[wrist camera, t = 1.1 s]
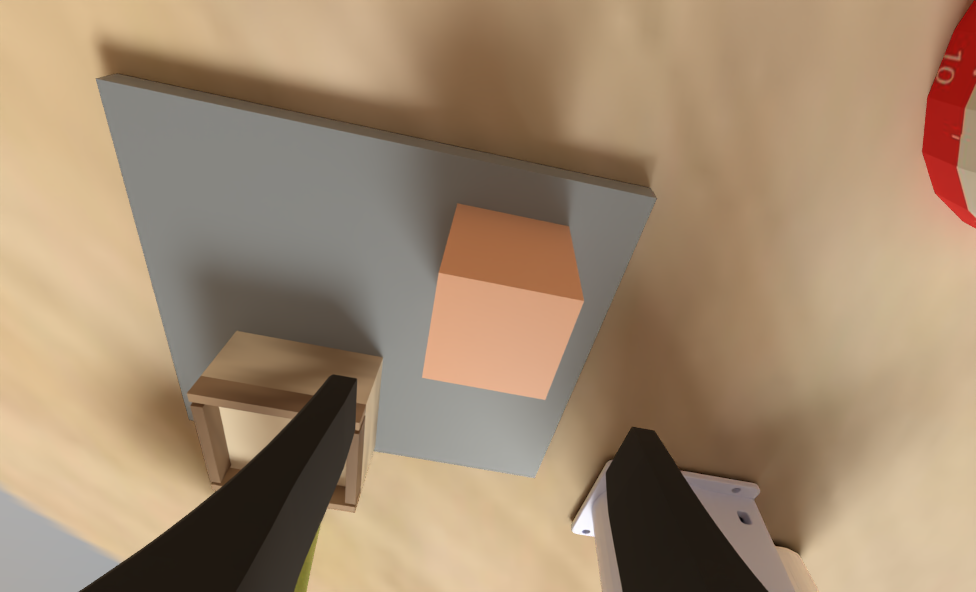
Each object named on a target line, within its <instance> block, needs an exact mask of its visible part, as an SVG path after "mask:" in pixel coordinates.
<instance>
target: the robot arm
mask: <svg viewBox="0 0 976 592" xmlns="http://www.w3.org/2000/svg"><path fill="white" fill-rule="evenodd" d="M356 400H357V378H352V377H346V376H341V375H335V374H333V375H331V376H329V377H328V378H327V380H326V381H325V382H324V383H323V385H322V386H321V387H320V388H319V389H318V391H317V392H316V393H315V394H314V395H313V397H312V398H311V399H310V400H309V401H308V402H307V404H306V405H305V406H304V407H303V408H302V409H301V410H300V411H299V412H298V414H297V415H296V416H295V417H294V418H293V419H292V420H291V421H290V422H289V423H288V424H287V425H286V426H285V427H284V428H283V429H282V430H281V431H280V432H279V433H278V435H277V436H276V437H275V438H274V439H273V440H272V441H271V442H270V443H269V444H268V445H267V446H266V447H265V448H263V449H262V450H261V451H260V452H259V453H258V454H257V455H256V456H255V457H254V458H253V459H252V460H251V461H250V462H249V463H248V464H246V465H245V466H244V467H243V468H242V469H241V470H240V471H239V472H238V473H237V474H236V475H235V476H233V477H232V478H231V479H230V480H229V481H228V482H227V483H225V484H224V485H223V486H222V487H221V488H220V489H218V490H217V491H216V492H215V493H214V494H212V495H211V496H210V497H209V498H208V499H206V500H205V501H204V502H203V503H202V504H200V505H199V506H198V507H197V508H195V509H194V510H193V511H192V512H190V513H189V514H188V515H186V516H185V517H184V518H182V519H181V520H180V521H179V522H177V523H176V524H175V525H173V526H172V527H171V528H169V529H168V530H167V531H166V532H164V533H163V534H162V535H160V536H159V537H157V538H156V539H155V540H153V541H152V542H151V543H149V544H148V545H146V546H145V547H144V548H142V549H141V550H139V551H138V552H137V553H135V554H134V555H132V556H131V557H129V558H128V559H126V560H125V561H123V562H122V563H120V564H119V565H118V566H116V567H115V568H113V569H112V570H110V571H109V572H107V573H106V574H104V575H103V576H101V577H100V578H98V579H97V580H95V581H94V582H93V583H91V584H90V585H88V586H87V587H85V588H84V589H82V590H80V591H79V592H294V590H295V587H296V584H297V581H298V578H299V575H300V572H301V570H302V567H303V564H304V562H305V559H306V556H307V554H308V552H309V549H310V547H311V545H312V542H313V540H314V538H315V535H316V533H317V531H318V528H319V526H320V523H321V521H322V519H323V516H324V514H325V512H326V509H327V507H328V505H329V502H330V500H331V498H332V495H333V493H334V490H335V488H336V486H337V483H338V481H339V479H340V476H341V474H342V471H343V469H344V466H345V462H346V459H347V456H348V453H349V450H350V446H351V443H352V440H353V436H354V433H355V425H356ZM759 493H760V489H759V487H758V485H757V484H755V483H751V482H745V481H739V480H733V479H727V478H722V477H716V476H710V475H704V474H699V473H693V472H687V471H681V470H679V468H678V467H677V465H676V464H675V462H674V460H673V459H672V457H671V456H670V454H669V453H668V451H667V450H666V448H665V446H664V445H663V443H662V442H661V440H660V439H659V437H658V436H657V434H656V433H655V431H653V430H647V429H642V428H636V427H632V428H631V429H630V431H629V433H628V435H627V436H626V438H625V440H624V441H623V443H622V445H621V447H620V448H619V450H618V452H617V454H616V455H615V457H614V459H613V460H610V461H608V462H607V463H606V465H605V466H604V468H603V470H602V472H601V473H600V475H599V477H598V479H597V480H596V482H595V484H594V486H593V487H592V489H591V491H590V493H589V494H588V496H587V498H586V500H585V501H584V503H583V505H582V506H581V508H580V510H579V512H578V513H577V515H576V517H575V519H574V520H573V522H572V524H571V530H572V532H574V533H576V534H581V535H587V536H593V537H595V543H596V551H597V558H598V566H599V573H600V580H601V588H602V592H795V590H794V588H793V585H792V583H791V581H790V579H789V577H788V574H787V572H786V570H785V568H784V565H783V563H782V561H781V559H780V556H779V554H778V552H777V550H776V548H775V545H774V543H773V541H772V539H771V536H770V534H769V532H768V530H767V527H766V525H765V523H764V521H763V519H762V516H761V514H760V512H759V510H758V507H757V505H756V503H755V501H754V499H755V498H756V497H757V496H758V495H759Z"/></svg>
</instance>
